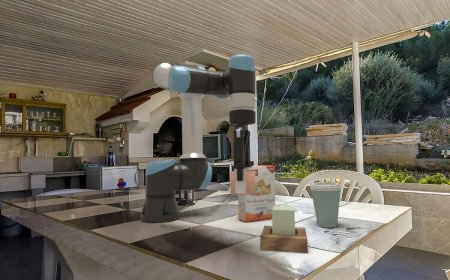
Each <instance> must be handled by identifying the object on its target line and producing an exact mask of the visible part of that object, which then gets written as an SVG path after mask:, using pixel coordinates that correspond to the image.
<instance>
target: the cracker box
mask: <svg viewBox="0 0 450 280" xmlns="http://www.w3.org/2000/svg"><path fill="white" fill-rule="evenodd" d="M248 168H250V171H255V185H256V193H255V194H249V195H237V198H238V199H237V200H238V203H237V204H238V206H237V207H238V208H237V211H238V215H237V217H238V218H237V219H238V220H239V221H242V222H244V223H251V222H257V221H264V220H265V221H267V220H272V209H273V206H276V166H275V165H252V167H248Z"/></svg>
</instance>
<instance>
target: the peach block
mask: <svg viewBox="0 0 450 280" xmlns="http://www.w3.org/2000/svg"><path fill="white" fill-rule="evenodd" d="M255 193H256V185H255V171H246V194H236V193H235V170H231V171H230V194H232V195H237V196H238V195H249V194H255Z"/></svg>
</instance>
